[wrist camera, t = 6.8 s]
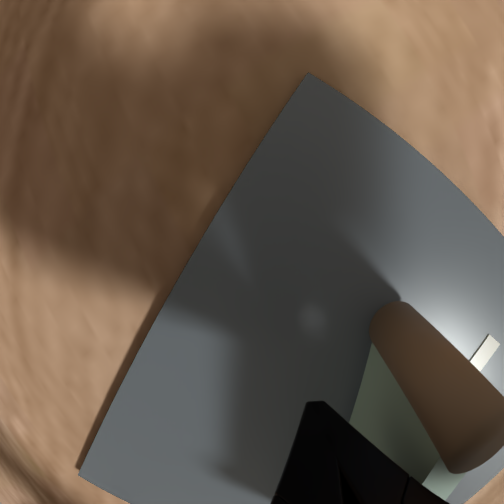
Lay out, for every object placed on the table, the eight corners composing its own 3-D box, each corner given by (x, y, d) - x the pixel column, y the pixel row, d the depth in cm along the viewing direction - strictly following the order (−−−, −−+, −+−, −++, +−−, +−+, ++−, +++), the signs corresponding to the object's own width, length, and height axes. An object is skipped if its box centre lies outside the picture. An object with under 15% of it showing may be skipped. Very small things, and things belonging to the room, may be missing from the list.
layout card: (583, 359, 10) (586, 361, 10) (378, 555, 14) (379, 558, 14) (306, 75, 8) (308, 71, 8) (79, 471, 12) (77, 475, 12)
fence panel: (336, 520, 11) (349, 601, 6) (304, 523, 11) (312, 606, 6) (422, 301, 9) (530, 400, 3) (375, 300, 9) (471, 416, 3)
